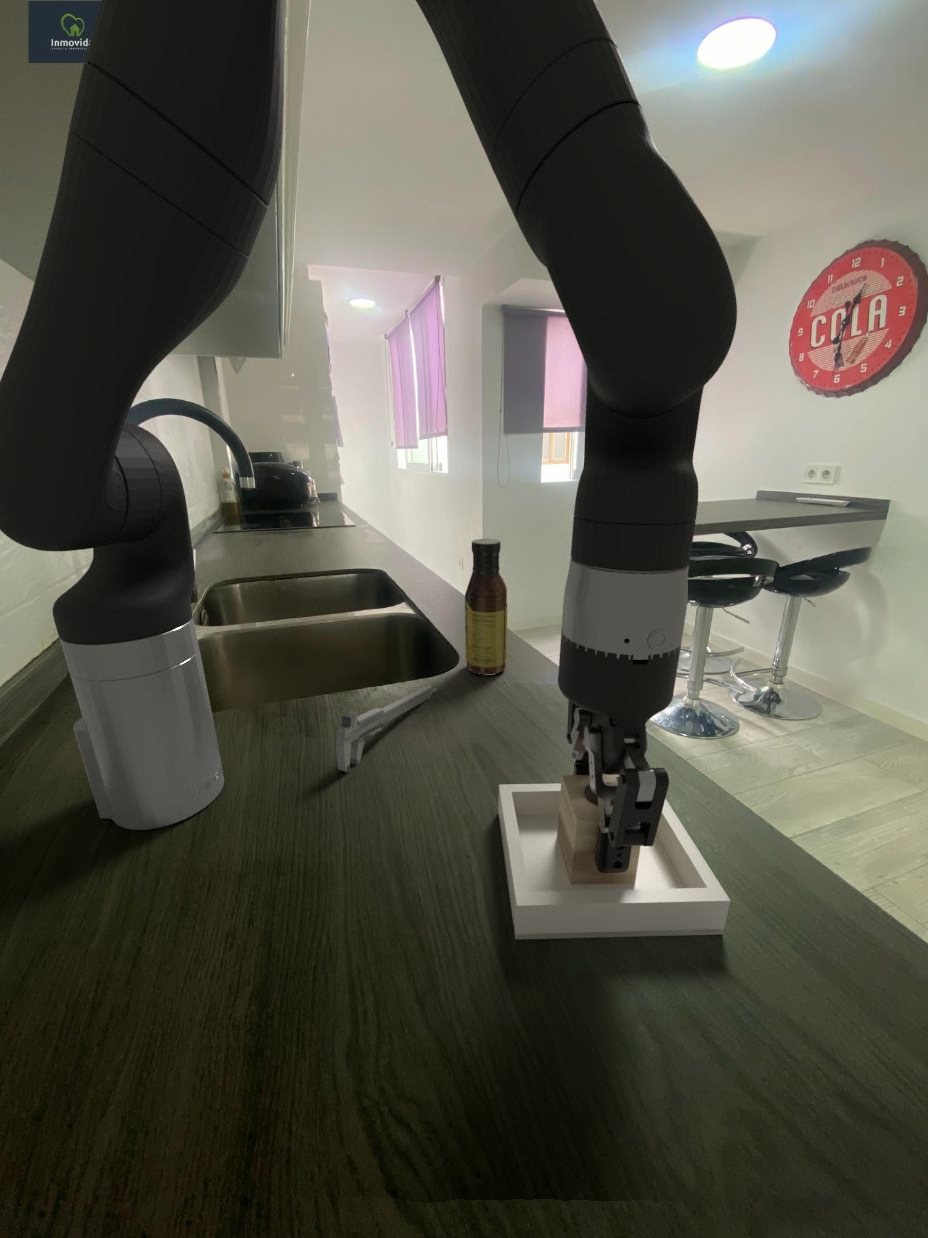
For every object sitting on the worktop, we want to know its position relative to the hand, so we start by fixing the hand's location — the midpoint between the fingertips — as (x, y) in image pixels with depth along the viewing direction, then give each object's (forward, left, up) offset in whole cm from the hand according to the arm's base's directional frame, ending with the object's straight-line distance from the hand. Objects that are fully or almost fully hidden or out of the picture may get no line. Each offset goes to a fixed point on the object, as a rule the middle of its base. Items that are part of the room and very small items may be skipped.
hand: (597, 832), depth 36 cm
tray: (0, 0, -3) cm, 3 cm away
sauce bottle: (-6, +37, -3) cm, 38 cm away
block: (0, 0, -3) cm, 3 cm away
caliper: (-18, +21, -4) cm, 28 cm away
